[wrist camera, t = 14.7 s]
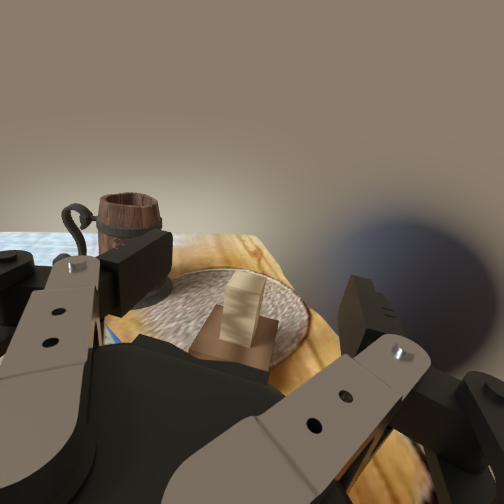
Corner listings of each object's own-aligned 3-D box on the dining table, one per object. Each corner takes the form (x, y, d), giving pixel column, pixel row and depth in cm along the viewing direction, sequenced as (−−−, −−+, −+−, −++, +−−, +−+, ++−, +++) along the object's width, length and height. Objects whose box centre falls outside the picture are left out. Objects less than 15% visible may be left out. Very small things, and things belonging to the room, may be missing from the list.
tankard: (176, 270, 70) (179, 193, 61) (166, 312, 54) (168, 217, 46) (76, 263, 65) (65, 180, 57) (35, 306, 50) (11, 201, 42)
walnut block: (187, 373, 42) (188, 348, 40) (213, 325, 53) (216, 304, 51) (262, 396, 40) (268, 372, 38) (273, 341, 51) (279, 320, 49)
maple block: (219, 339, 43) (226, 285, 39) (229, 320, 47) (236, 269, 43) (249, 348, 42) (260, 293, 38) (256, 327, 46) (266, 277, 42)
